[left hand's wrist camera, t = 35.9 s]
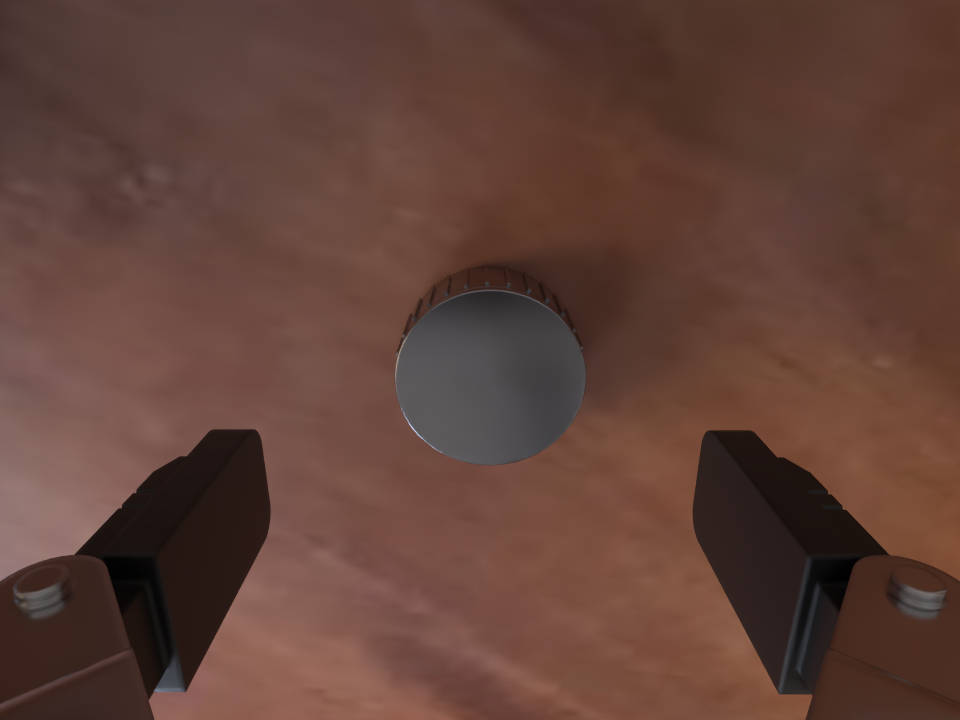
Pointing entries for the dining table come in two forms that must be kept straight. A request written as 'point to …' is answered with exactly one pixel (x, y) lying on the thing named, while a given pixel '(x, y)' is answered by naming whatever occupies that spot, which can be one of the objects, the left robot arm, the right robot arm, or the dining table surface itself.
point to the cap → (490, 367)
